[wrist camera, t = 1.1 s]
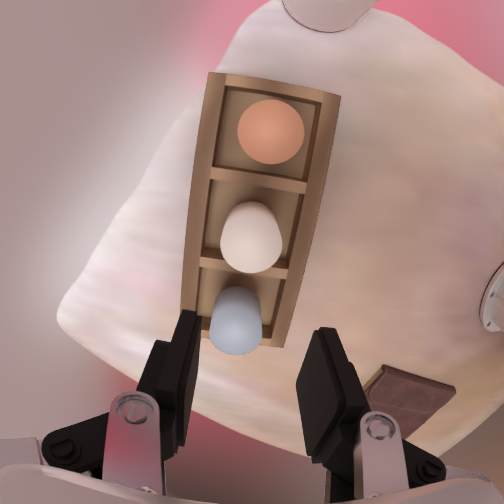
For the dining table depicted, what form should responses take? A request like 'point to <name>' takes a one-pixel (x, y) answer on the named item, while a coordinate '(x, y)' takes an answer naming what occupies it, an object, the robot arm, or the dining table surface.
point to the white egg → (251, 238)
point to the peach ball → (270, 131)
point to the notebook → (406, 397)
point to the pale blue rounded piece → (236, 321)
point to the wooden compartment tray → (254, 197)
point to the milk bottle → (327, 12)
